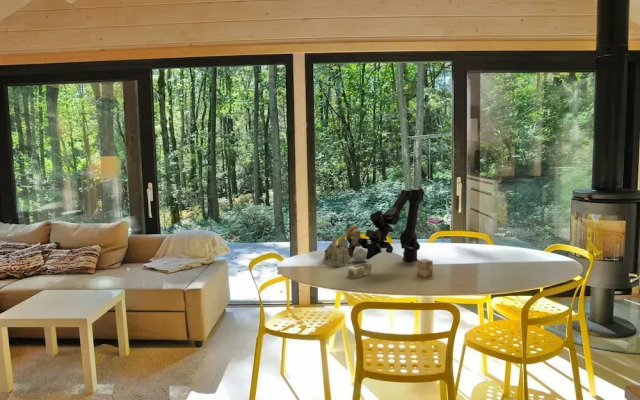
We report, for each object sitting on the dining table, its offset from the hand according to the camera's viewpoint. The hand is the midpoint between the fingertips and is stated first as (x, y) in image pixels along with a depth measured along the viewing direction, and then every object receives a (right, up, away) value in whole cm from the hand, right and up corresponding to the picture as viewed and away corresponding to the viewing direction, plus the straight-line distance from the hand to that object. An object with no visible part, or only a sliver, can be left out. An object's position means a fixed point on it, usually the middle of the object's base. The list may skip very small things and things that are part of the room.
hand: (367, 259), depth 220 cm
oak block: (+27, -7, -5) cm, 28 cm away
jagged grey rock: (-15, -5, +23) cm, 28 cm away
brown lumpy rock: (-2, -3, +43) cm, 43 cm away
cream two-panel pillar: (0, -5, +1) cm, 5 cm away
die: (-1, -5, +25) cm, 25 cm away
